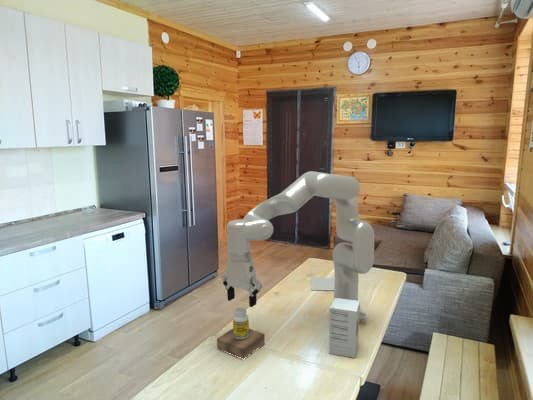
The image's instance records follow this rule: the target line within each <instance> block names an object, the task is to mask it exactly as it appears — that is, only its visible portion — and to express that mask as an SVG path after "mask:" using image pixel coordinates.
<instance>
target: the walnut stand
mask: <svg viewBox="0 0 533 400" xmlns="http://www.w3.org/2000/svg"><path fill="white" fill-rule="evenodd" d="M265 336H266V335H265V333H262V332H260V331H257V330H255V329H252V328H249V336H248V337H247V338H245V339H236V338H235V337H234V331H233V328H232V329H229V330H228V331H227V332H225V333H224V334H222V335H220V336H219V337H218V338H216V347H217V348H218V349H220V350H223V351H226V352H228V353H231V354H233V355H236V356H238V357H241V358H243V359H244V358H245V357H247V356H248V355H249V354H251V353H252V352H253V351H254V350H256V349H257V348H259V347H260V348H262V347H263V346H264V345H265V341H266V340H265ZM260 348H259V349H260ZM218 349H217V350H218ZM220 350H219V351H220ZM223 351H222V352H223ZM228 353H227V354H228ZM233 355H232V356H233ZM251 355H252V354H251ZM238 357H237V358H238ZM247 358H248V357H247Z"/></svg>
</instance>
